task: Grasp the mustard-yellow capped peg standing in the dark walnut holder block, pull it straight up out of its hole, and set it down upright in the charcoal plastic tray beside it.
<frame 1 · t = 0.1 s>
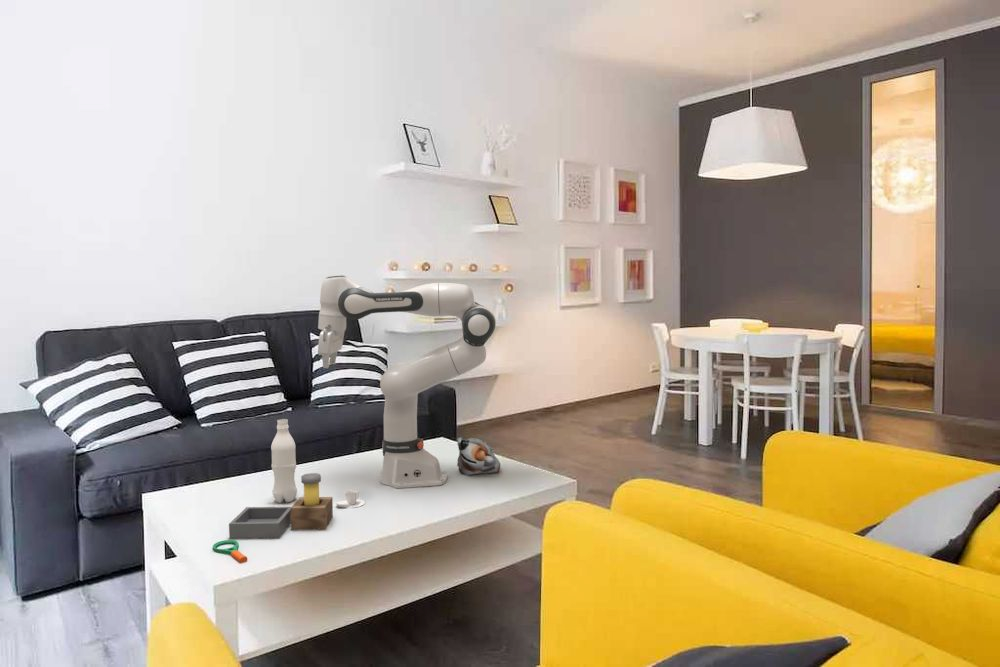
hand: (329, 365, 227), 39 cm above the table, tool pointing down, fingers open, 8 cm apart
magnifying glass: (232, 555, 171), on the table
tray: (262, 529, 187), on the table
teacup and saucer: (341, 505, 208), on the table
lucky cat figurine: (479, 473, 239), on the table
peg: (311, 499, 190), in the holder
holder: (312, 523, 191), on the table
water bottle: (285, 501, 211), on the table
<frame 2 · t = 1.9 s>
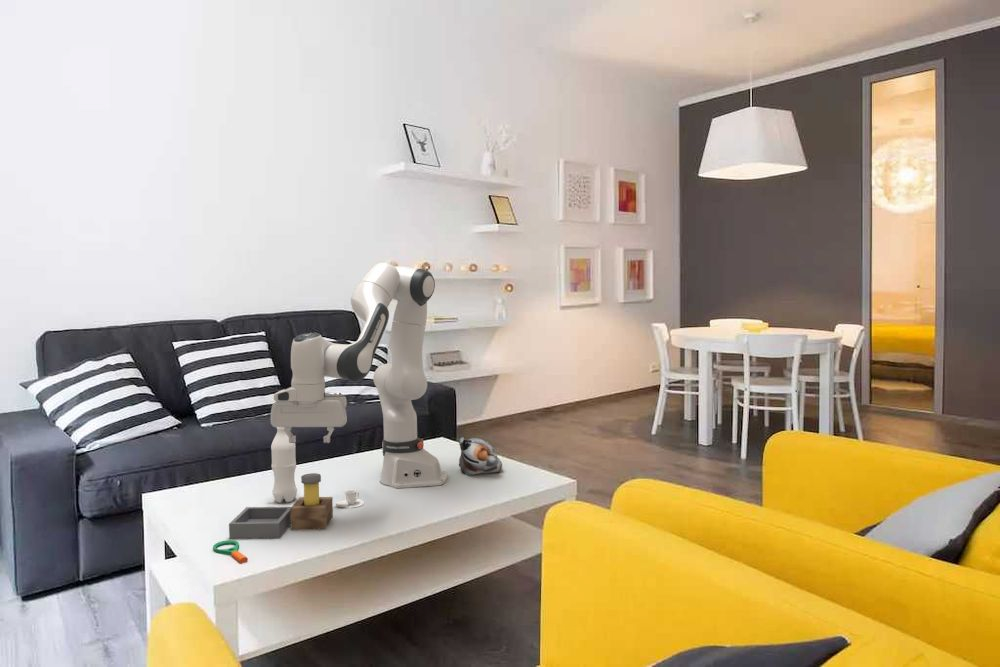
hand: (309, 442, 189), 23 cm above the table, tool pointing down, fingers open, 8 cm apart
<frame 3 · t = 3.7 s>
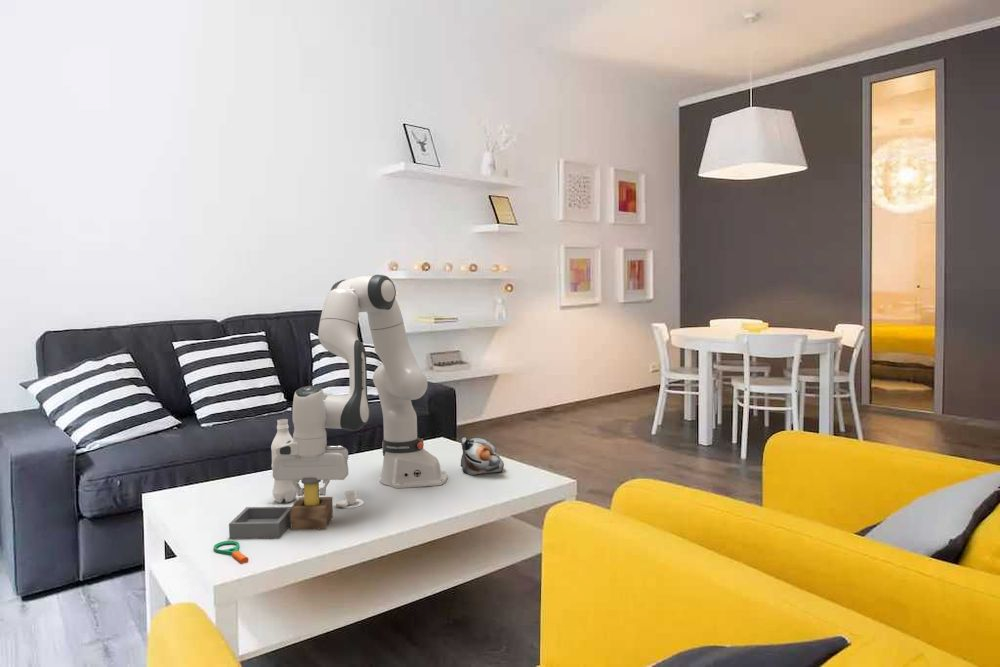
hand: (311, 494, 190), 8 cm above the table, tool pointing down, fingers closed on peg, 5 cm apart
peg: (311, 499, 190), in the holder, touching gripper
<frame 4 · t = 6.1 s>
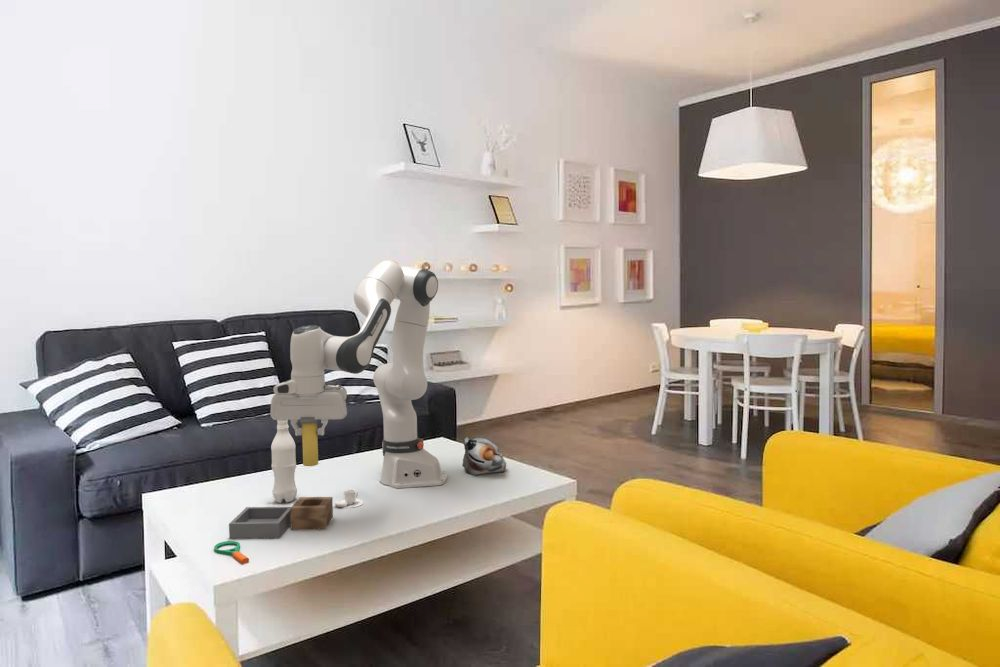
hand: (309, 435, 189), 25 cm above the table, tool pointing down, fingers closed on peg, 5 cm apart
teacup and saucer: (340, 505, 208), on the table, touching holder
peg: (310, 440, 189), point 24 cm above the table, touching gripper
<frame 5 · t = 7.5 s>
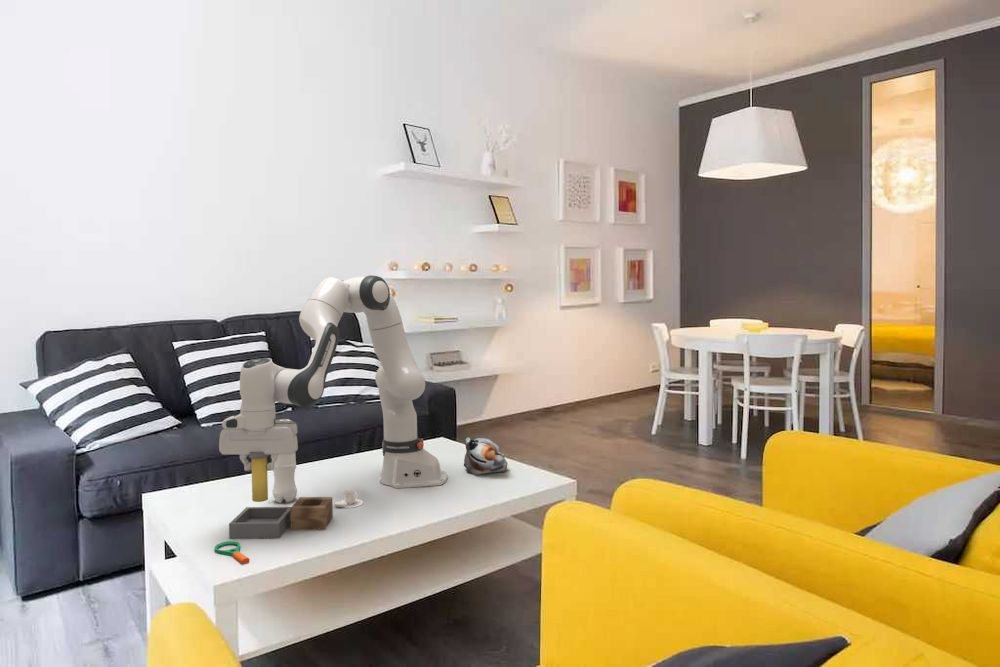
hand: (259, 470, 185), 16 cm above the table, tool pointing down, fingers closed on peg, 5 cm apart
teacup and saucer: (340, 505, 208), on the table
peg: (259, 475, 185), point 15 cm above the table, touching gripper
when the fingers open (11 cm above the table, at t = 8.7 s): peg drops 2 cm, resting on tray.
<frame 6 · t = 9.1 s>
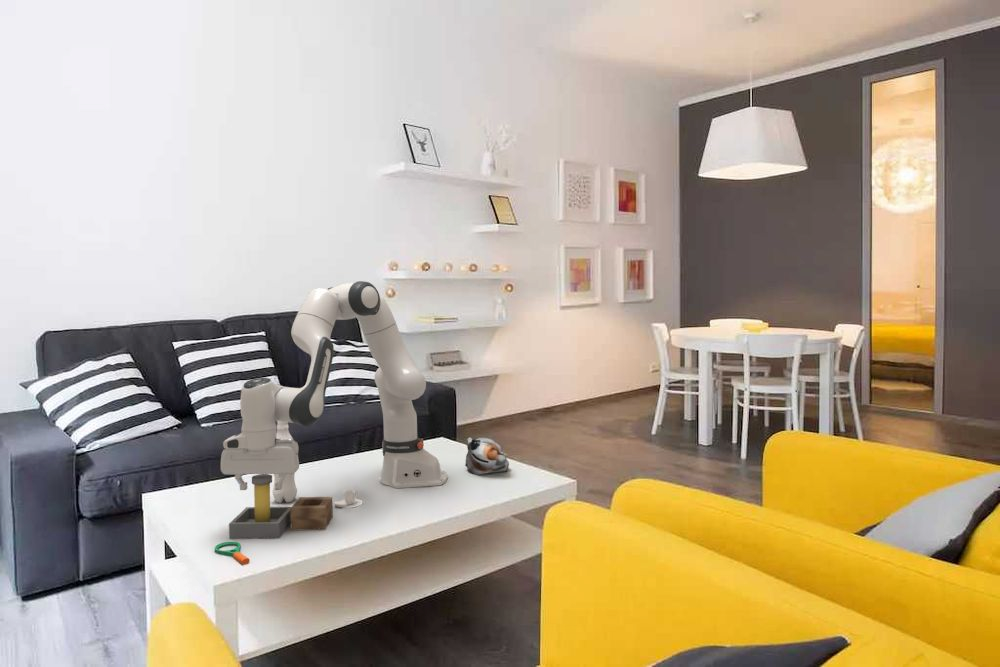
hand: (261, 489, 186), 11 cm above the table, tool pointing down, fingers open, 8 cm apart
peg: (262, 501, 186), in the tray, point 8 cm above the table
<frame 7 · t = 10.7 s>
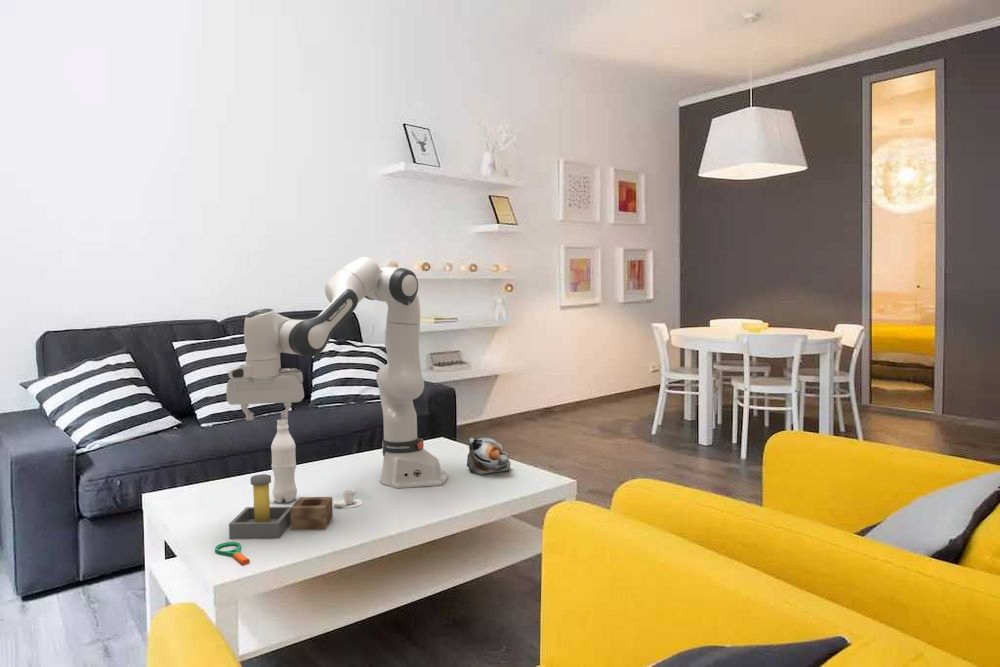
hand: (267, 419, 188), 30 cm above the table, tool pointing down, fingers open, 8 cm apart
teacup and saucer: (339, 505, 208), on the table, touching holder
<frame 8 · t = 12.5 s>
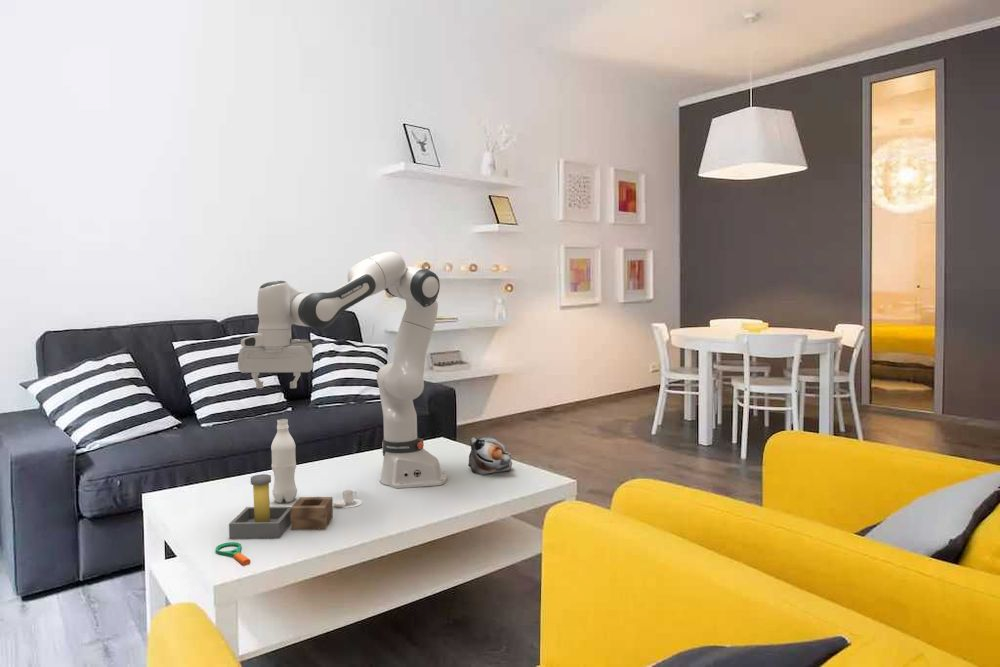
hand: (276, 388, 194), 37 cm above the table, tool pointing down, fingers open, 8 cm apart
teacup and saucer: (338, 505, 208), on the table
at the end: peg inside the target area on the tray (0.0 cm from its centre), point 7.8 cm above the tray's base; peg tilted 0°; the gripper is holding nothing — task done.
